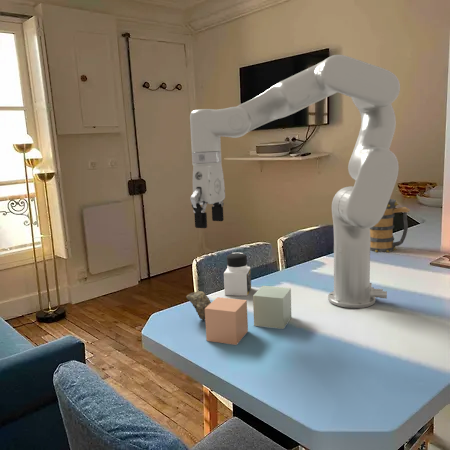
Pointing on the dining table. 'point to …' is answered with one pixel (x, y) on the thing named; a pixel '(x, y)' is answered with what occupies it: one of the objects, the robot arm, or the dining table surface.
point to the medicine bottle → (237, 275)
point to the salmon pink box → (226, 320)
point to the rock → (199, 302)
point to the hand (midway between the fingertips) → (209, 224)
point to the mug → (387, 229)
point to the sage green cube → (272, 307)
